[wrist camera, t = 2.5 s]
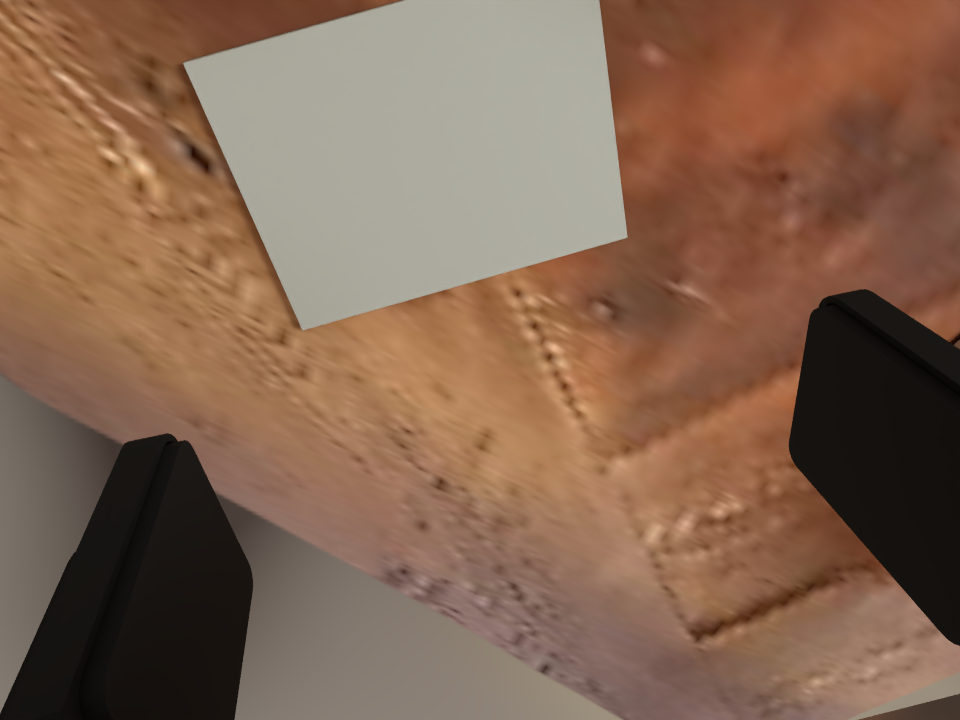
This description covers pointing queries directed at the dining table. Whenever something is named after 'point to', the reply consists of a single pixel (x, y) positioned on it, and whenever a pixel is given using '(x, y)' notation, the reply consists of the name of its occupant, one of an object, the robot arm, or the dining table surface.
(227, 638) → the robot arm
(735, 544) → the dining table surface
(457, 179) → the rubber mat
